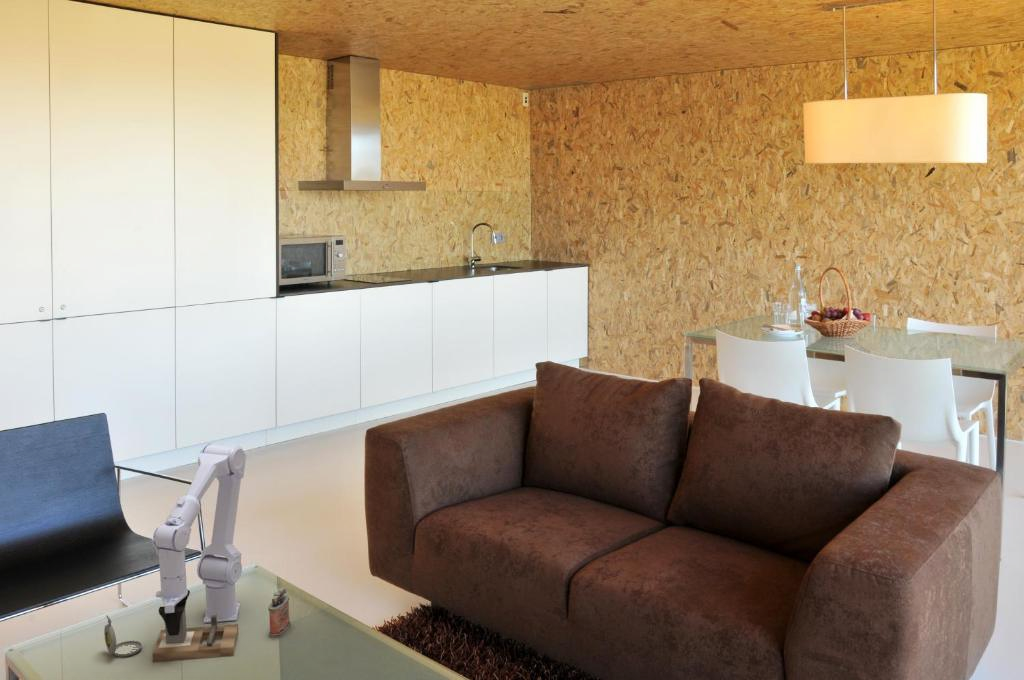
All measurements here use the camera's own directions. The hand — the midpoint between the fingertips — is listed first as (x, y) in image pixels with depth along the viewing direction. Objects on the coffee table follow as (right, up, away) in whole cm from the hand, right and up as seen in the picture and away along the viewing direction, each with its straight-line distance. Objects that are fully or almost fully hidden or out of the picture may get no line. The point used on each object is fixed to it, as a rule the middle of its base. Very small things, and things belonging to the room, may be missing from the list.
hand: (176, 628), depth 227 cm
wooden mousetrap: (+4, -5, +2) cm, 7 cm away
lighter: (+22, -4, +10) cm, 25 cm away
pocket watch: (-12, -5, -1) cm, 14 cm away
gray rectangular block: (0, -3, 0) cm, 3 cm away
